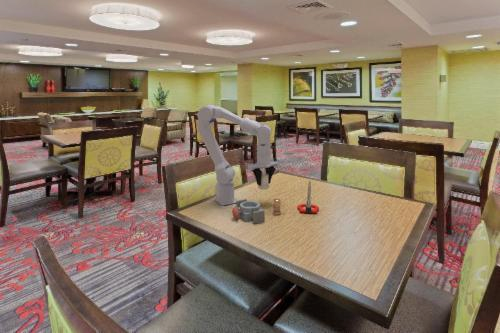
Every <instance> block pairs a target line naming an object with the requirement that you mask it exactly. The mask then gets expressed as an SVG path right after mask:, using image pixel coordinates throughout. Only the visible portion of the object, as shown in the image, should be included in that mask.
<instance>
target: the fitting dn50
mask: <svg viewBox="0 0 500 333" xmlns="http://www.w3.org/2000/svg"><path fill="white" fill-rule="evenodd" d="M268 180H269V174H267V173H266V172H262V176H261V185H260V186H259V185H257V188H258V189H259V190H269V189H270V184H268Z"/></svg>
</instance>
